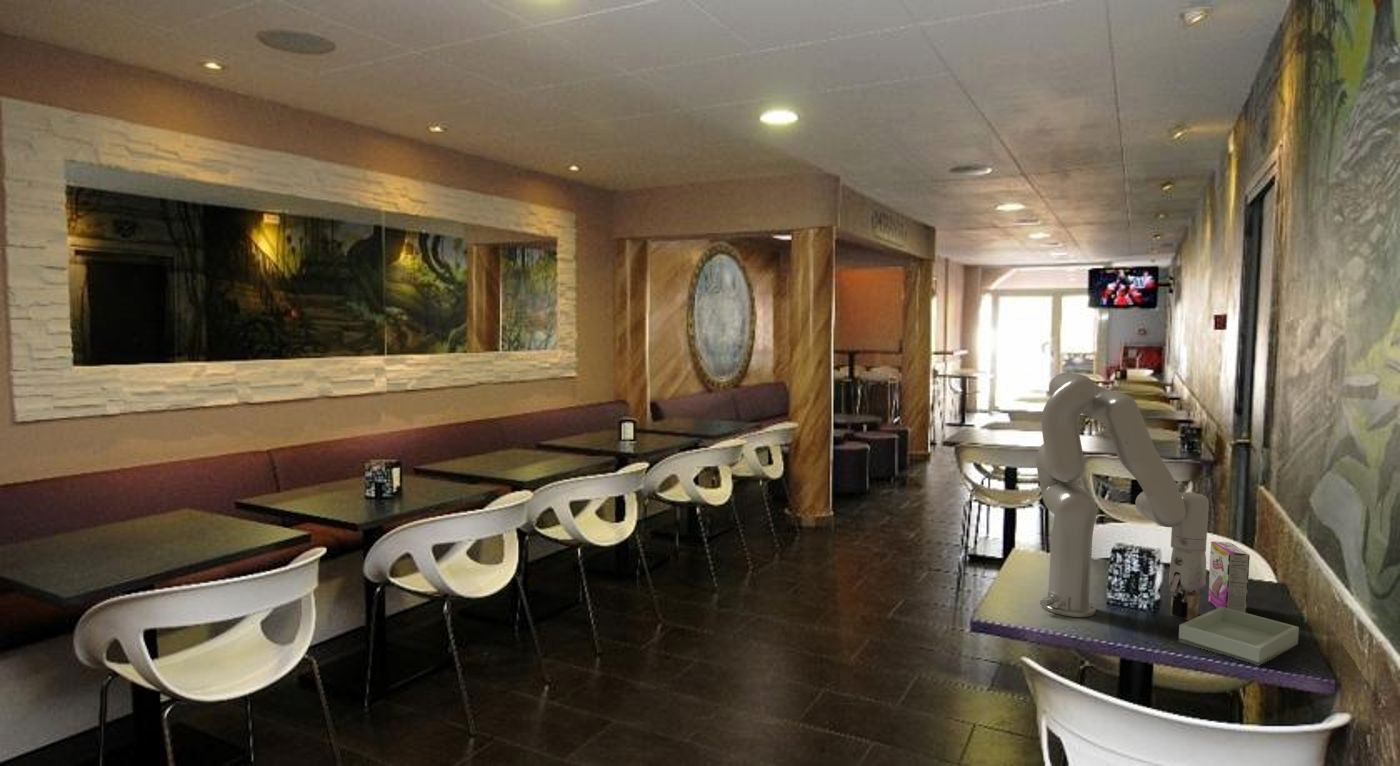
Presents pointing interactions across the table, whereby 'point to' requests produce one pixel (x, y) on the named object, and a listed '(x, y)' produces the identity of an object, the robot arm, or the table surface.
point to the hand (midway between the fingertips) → (1184, 613)
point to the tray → (1239, 635)
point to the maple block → (1190, 605)
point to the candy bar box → (1228, 576)
